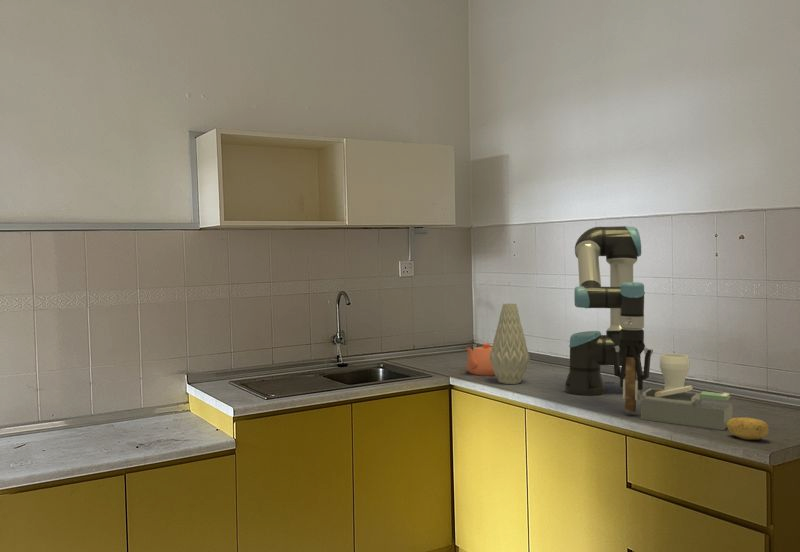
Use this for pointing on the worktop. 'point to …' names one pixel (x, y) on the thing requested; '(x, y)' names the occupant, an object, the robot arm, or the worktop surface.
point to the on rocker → (714, 395)
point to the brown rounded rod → (630, 385)
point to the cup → (674, 370)
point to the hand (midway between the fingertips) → (631, 398)
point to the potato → (748, 428)
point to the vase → (509, 347)
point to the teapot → (480, 360)
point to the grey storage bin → (685, 410)
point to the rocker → (673, 391)
